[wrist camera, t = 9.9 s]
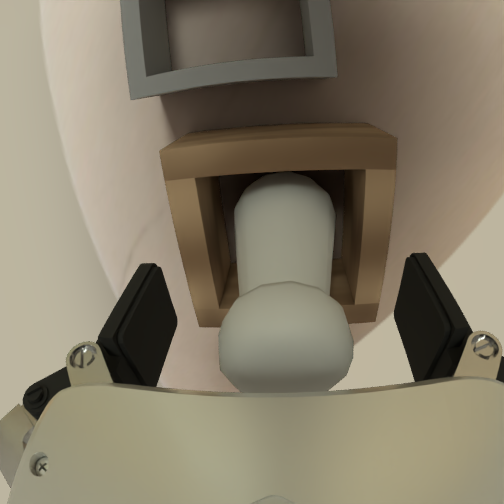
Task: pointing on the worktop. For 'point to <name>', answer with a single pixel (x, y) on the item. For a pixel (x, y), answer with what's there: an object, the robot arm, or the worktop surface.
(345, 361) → the salt shaker
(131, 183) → the worktop surface
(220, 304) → the brown wooden open box
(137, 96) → the grey open tray
